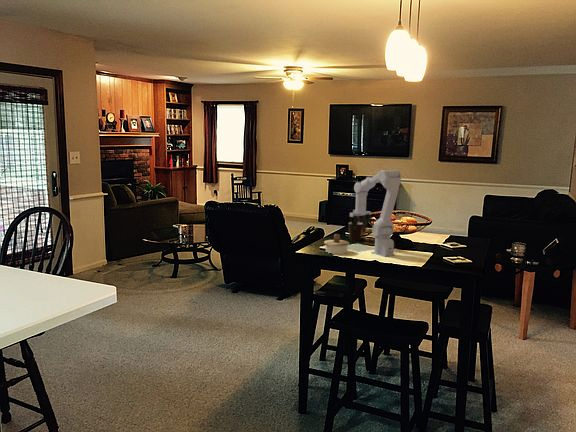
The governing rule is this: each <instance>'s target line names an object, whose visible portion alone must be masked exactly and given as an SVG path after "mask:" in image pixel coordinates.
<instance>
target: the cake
mask: <svg viewBox="0 0 576 432" xmlns="http://www.w3.org/2000/svg"><path fill="white" fill-rule="evenodd" d="M354 211H355V209H353V210H352V213H353V212H354ZM356 217H358V218H359V220H358V222H360V223H363V221H362V217H360V216H356ZM365 229H366V228H363V227H362V234H361V235H363V234H365V233H366V231H365Z"/></svg>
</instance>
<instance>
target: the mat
mask: <svg viewBox="0 0 576 432" xmlns="http://www.w3.org/2000/svg"><path fill="white" fill-rule="evenodd" d="M347 250H350V251H354V252H357V253H359V252H366V251H370V250H371V251H373V250H375V246H370V245H366V244H362V243H353V244H352V243H351V244H349V245H348V248H347Z"/></svg>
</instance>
